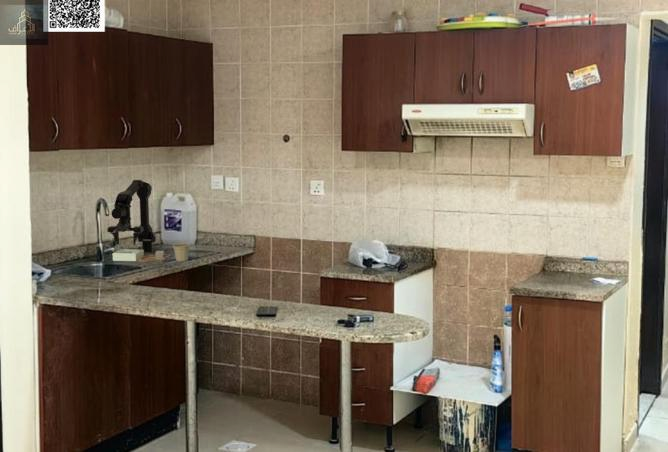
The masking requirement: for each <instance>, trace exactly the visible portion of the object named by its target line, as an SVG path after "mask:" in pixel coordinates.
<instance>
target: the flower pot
mask: <svg viewBox="0 0 668 452" xmlns="http://www.w3.org/2000/svg"><path fill="white" fill-rule="evenodd" d="M190 246H191V244H190V243H178V244H177V243H176V244H173V245H172V247H173V250H174V255H175V261H177V262H184V261H188V260H189V250H190Z"/></svg>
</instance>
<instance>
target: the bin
mask: <svg viewBox="0 0 668 452" xmlns="http://www.w3.org/2000/svg"><path fill="white" fill-rule="evenodd" d="M123 252H132V253H123ZM143 256H145V252H144V250H142V249H129V248H127V249H125V248H124V249H123V248H121V249H119V250H116V251H114V252H113V253H112V261H114V262H120V261H121V262H138V261H137V259H139V258H141V257H143Z"/></svg>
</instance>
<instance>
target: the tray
mask: <svg viewBox="0 0 668 452" xmlns="http://www.w3.org/2000/svg"><path fill="white" fill-rule="evenodd" d="M172 255H173V254H166V253H164V258H163V259H156V254H155V253H153V254H151V253H150V254H149V253H146V254H144V256H143V257H141V258H139V259H137V261H136V262H147V263H149V262H151V263H152V262H157V263H161V262H164V261H166V260H168V259H169V258H172V257H173V256H172Z"/></svg>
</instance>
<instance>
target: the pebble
mask: <svg viewBox="0 0 668 452" xmlns="http://www.w3.org/2000/svg"><path fill="white" fill-rule="evenodd" d="M154 252H155V253H154V254H156V259H163V258H164V254H165V250H156V251H154Z"/></svg>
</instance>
